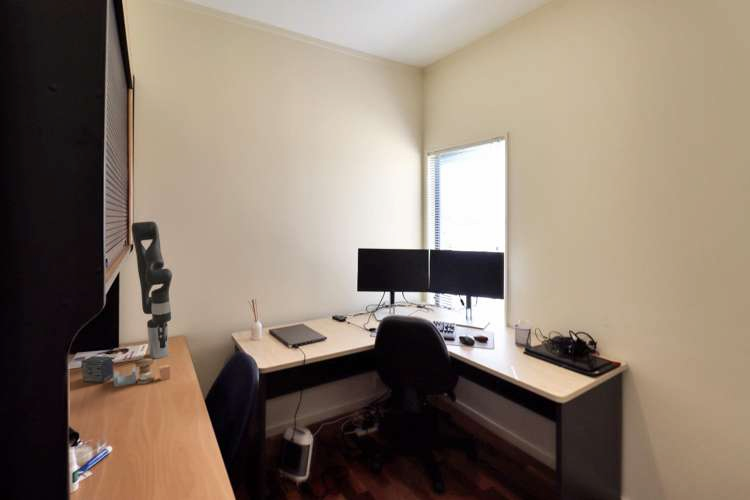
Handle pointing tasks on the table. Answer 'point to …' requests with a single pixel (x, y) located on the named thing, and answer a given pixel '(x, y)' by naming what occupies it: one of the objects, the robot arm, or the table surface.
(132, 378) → the grey channel bracket
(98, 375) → the small box
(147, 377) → the bobbin
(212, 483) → the table surface
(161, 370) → the tan rectangular block
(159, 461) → the table surface
